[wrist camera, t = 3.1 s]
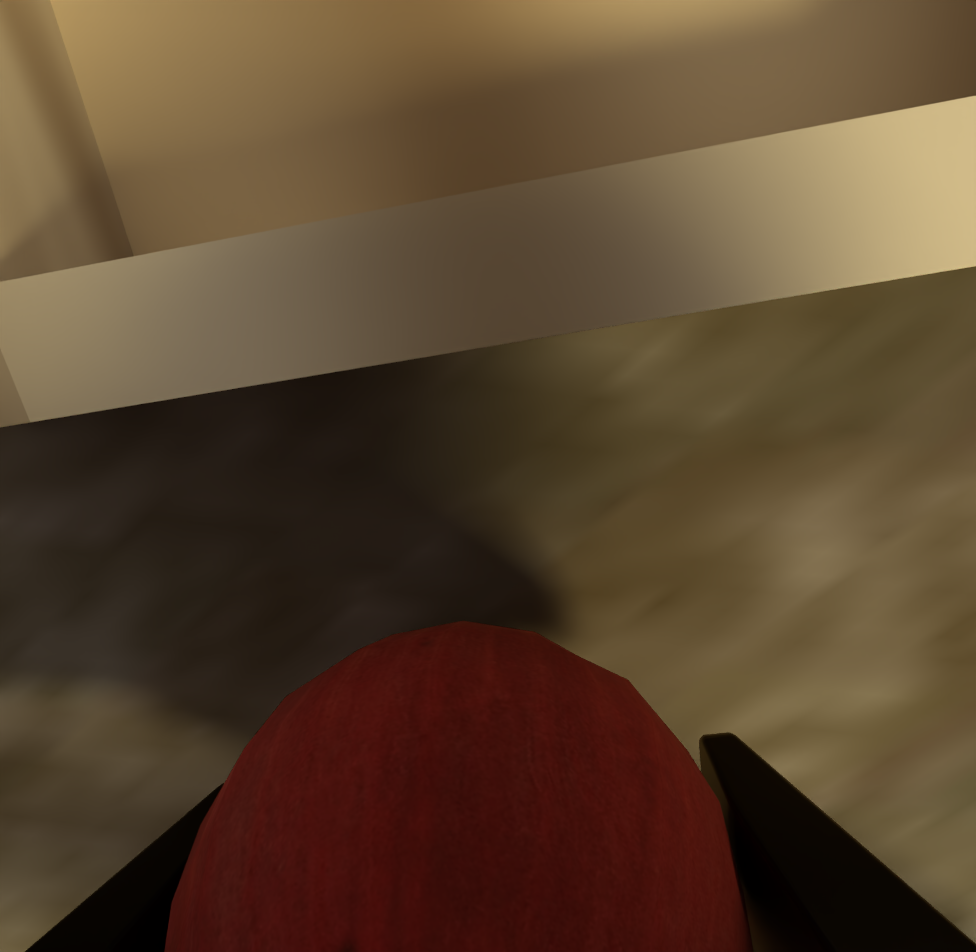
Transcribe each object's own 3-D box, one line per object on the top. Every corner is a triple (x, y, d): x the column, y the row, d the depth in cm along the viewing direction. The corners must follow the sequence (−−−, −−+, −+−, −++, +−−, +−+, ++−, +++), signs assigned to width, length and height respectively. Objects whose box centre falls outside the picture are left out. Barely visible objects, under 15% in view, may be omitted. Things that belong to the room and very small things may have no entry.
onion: (312, 805, 11) (-93, 1864, 4) (302, 508, 10) (-518, 1453, 2) (636, 835, 11) (869, 1996, 4) (691, 539, 9) (1374, 1678, 2)
